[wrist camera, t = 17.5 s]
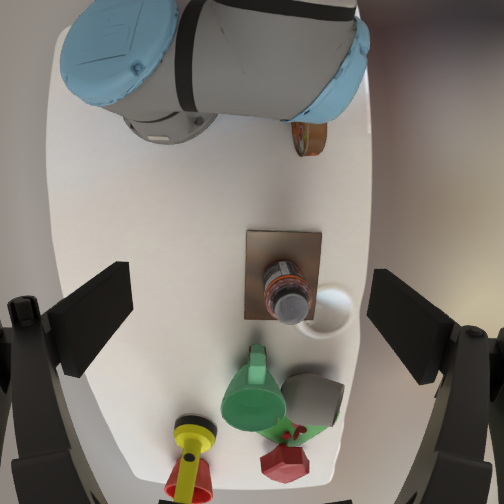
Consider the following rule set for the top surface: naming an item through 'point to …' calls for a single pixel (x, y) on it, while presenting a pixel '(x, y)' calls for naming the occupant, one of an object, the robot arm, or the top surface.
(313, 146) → the tin
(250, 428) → the mug
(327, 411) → the cup
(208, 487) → the flower pot
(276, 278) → the supplement bottle
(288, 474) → the red green faceted piece
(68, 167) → the top surface
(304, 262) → the placemat
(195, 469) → the flashlight
